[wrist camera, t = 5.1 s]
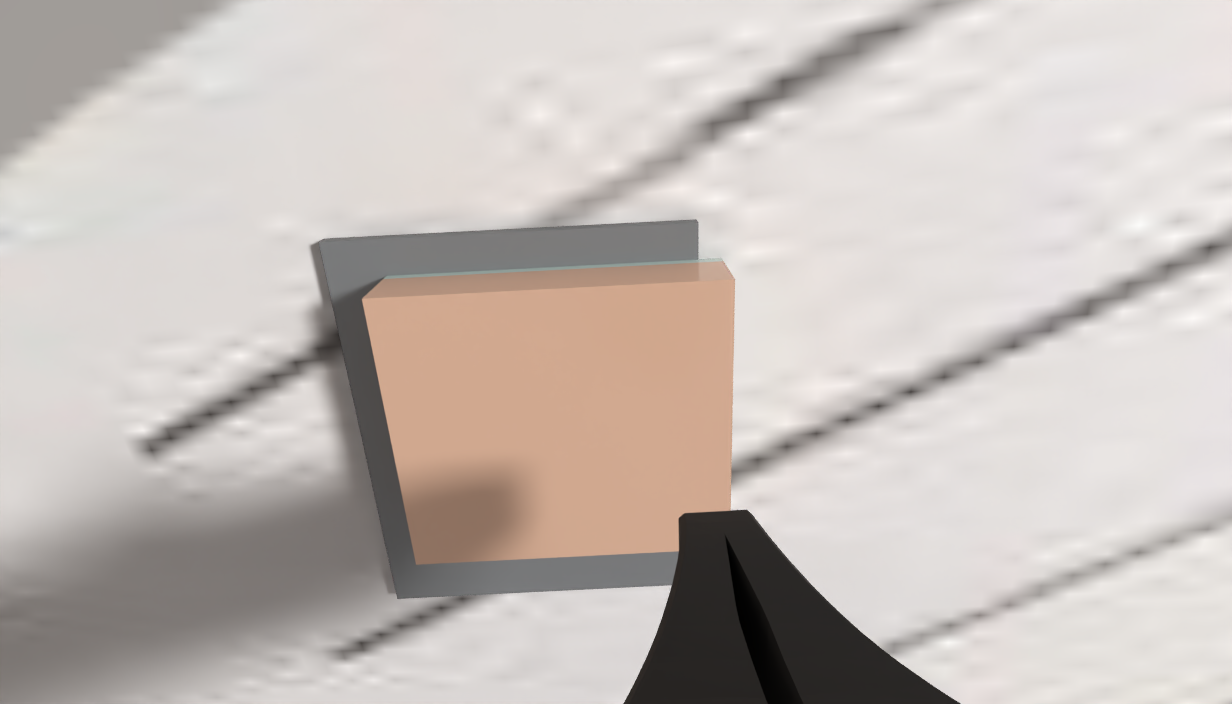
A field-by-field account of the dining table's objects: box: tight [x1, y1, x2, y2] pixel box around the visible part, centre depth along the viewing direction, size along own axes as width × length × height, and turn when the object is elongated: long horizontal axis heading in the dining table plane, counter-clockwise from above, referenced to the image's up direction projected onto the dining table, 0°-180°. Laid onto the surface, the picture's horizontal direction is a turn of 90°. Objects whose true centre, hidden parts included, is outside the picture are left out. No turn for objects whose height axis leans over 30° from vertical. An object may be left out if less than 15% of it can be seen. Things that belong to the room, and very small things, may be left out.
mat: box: [319, 220, 698, 599], centre depth 20 cm, size 12×10×1 cm
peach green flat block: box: [362, 258, 735, 565], centre depth 19 cm, size 8×2×9 cm
